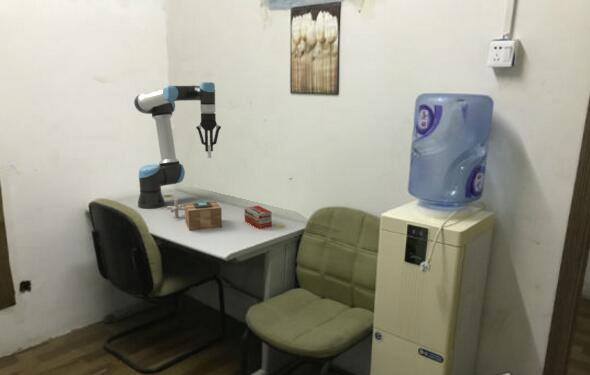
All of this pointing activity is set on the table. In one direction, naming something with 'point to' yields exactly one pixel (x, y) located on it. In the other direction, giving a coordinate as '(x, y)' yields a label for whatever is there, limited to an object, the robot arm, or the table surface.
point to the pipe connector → (176, 208)
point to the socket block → (203, 217)
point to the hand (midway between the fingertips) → (209, 157)
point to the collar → (202, 206)
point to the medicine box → (258, 217)
